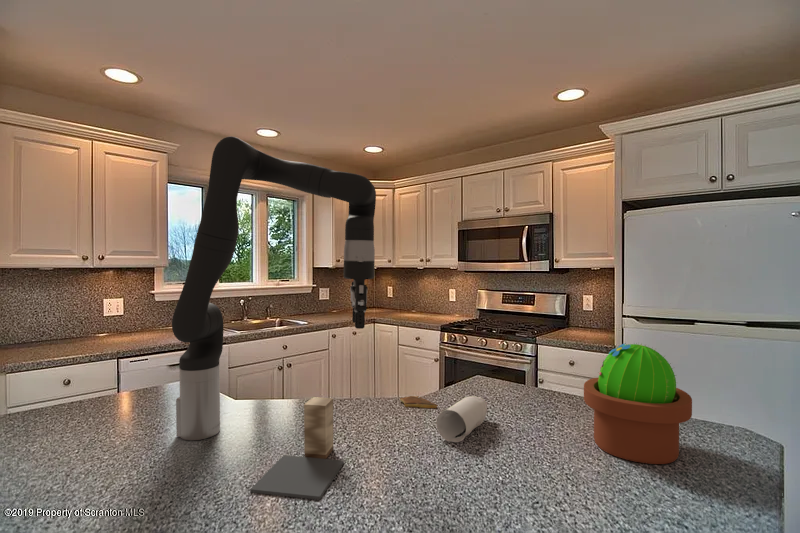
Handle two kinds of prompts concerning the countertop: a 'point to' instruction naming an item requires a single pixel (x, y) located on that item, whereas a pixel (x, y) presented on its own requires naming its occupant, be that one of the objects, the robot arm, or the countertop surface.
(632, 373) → the potted cactus
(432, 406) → the shard
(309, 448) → the maple block
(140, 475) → the countertop surface
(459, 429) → the hollow grey tube
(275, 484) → the mat
